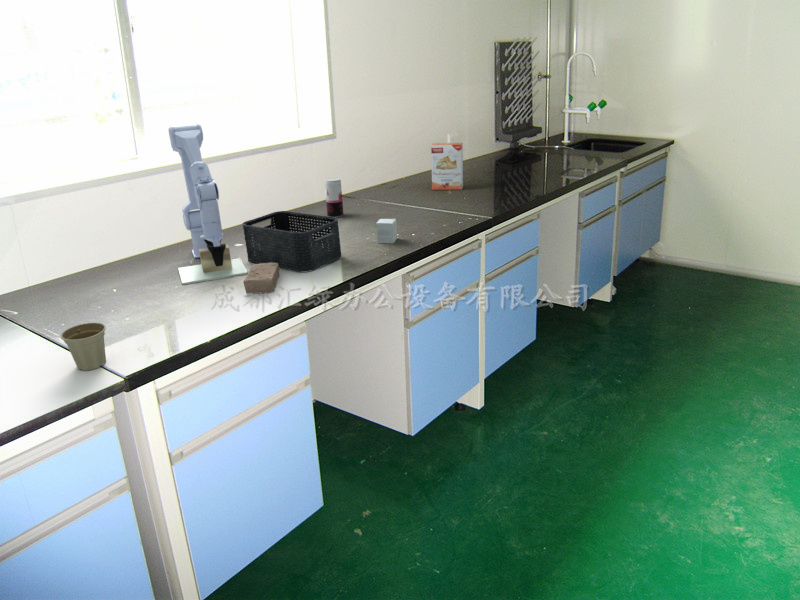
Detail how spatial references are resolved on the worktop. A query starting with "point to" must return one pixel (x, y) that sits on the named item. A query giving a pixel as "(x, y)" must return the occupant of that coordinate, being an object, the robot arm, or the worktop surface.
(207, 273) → the mat
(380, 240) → the product box
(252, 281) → the brick
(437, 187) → the cracker box
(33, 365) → the worktop surface
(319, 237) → the storage bin
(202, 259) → the slab
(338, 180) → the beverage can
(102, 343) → the flower pot
